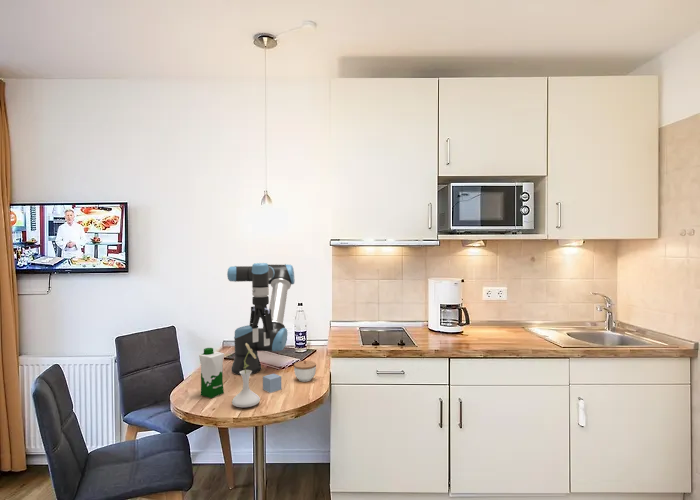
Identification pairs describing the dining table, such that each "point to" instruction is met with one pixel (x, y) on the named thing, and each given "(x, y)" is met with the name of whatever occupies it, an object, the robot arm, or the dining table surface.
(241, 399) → the flower in vase
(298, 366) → the lidded jar
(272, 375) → the block
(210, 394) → the milk carton
